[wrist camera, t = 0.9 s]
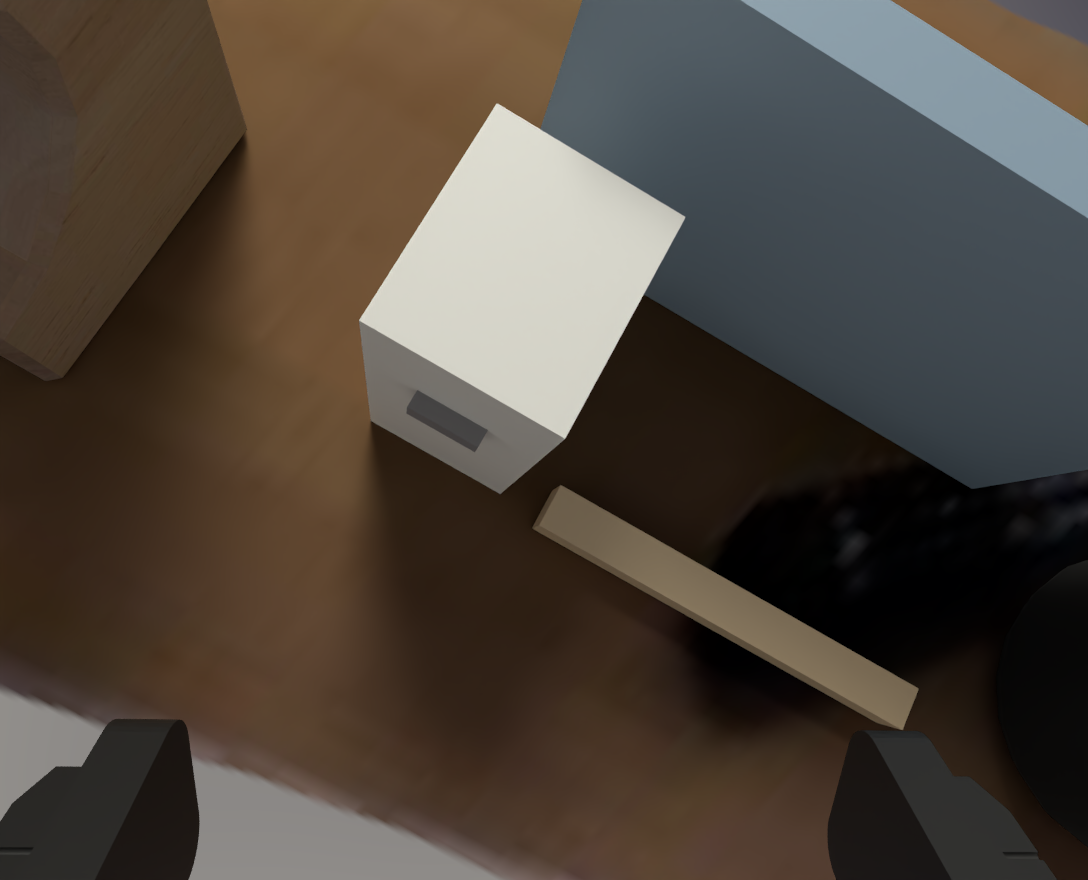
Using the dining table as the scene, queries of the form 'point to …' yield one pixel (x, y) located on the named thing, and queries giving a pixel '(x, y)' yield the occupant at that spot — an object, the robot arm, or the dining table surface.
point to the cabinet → (509, 301)
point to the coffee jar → (1050, 697)
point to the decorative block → (98, 157)
